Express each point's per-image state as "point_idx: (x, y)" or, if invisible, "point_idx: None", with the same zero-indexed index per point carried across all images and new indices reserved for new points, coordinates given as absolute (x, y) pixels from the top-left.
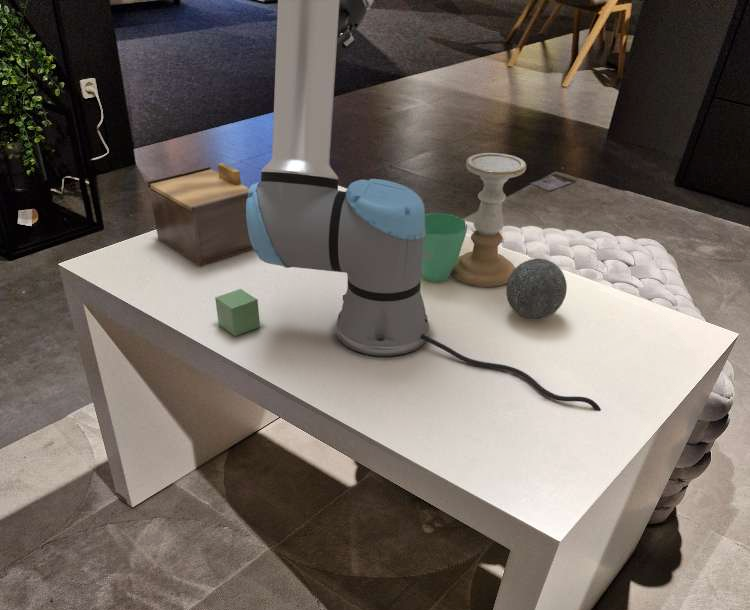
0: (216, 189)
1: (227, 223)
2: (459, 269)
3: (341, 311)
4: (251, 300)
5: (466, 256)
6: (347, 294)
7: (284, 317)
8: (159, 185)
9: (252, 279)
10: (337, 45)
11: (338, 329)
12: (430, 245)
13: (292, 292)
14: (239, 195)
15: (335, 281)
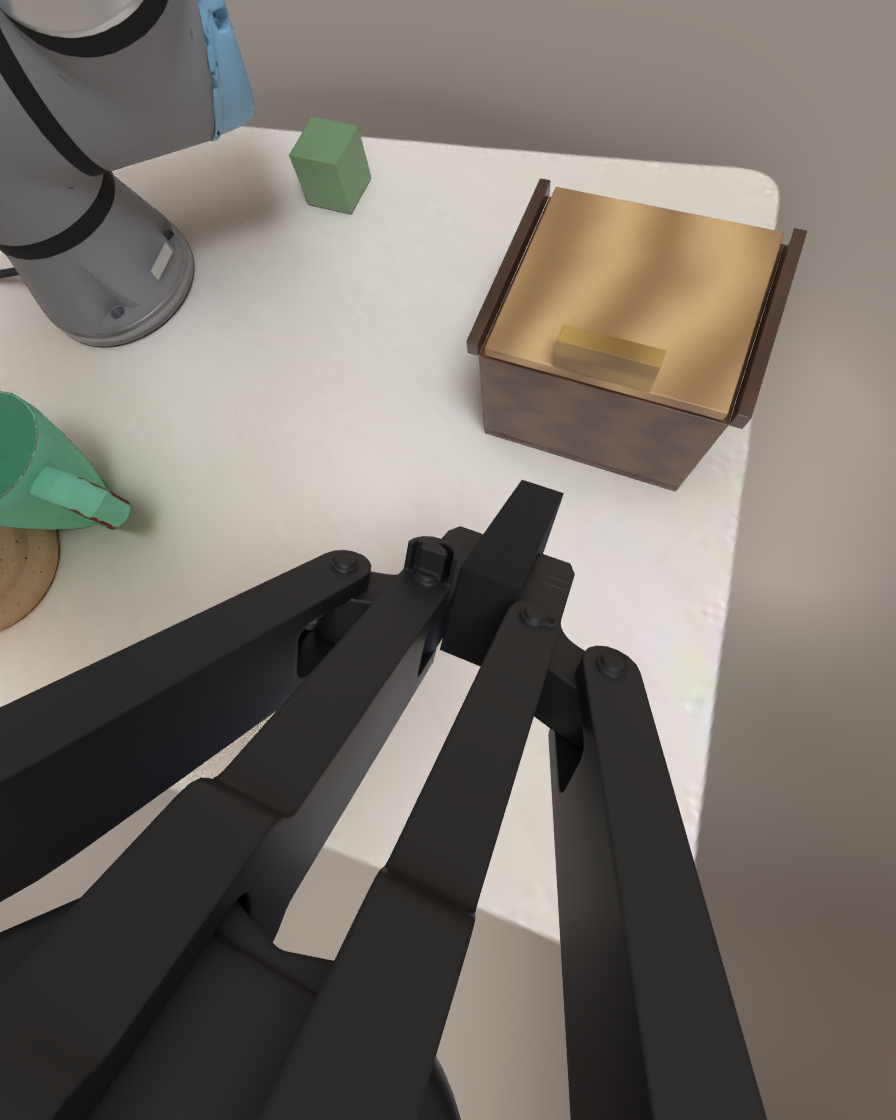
0: (584, 299)
1: None
2: None
3: (152, 208)
4: (296, 147)
5: (1, 548)
6: (119, 181)
7: (288, 244)
8: (749, 238)
9: (411, 312)
10: (18, 705)
11: (170, 222)
12: (13, 411)
13: (317, 312)
14: (491, 290)
15: (262, 385)
